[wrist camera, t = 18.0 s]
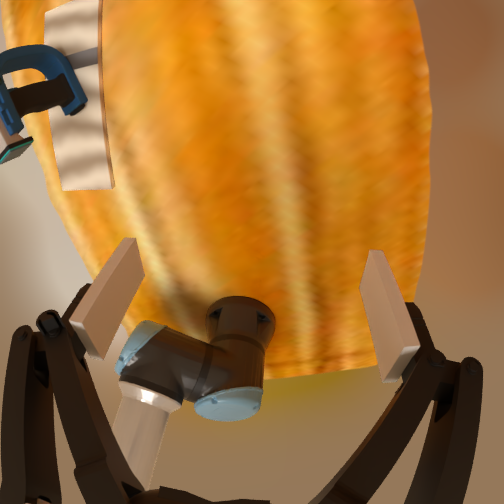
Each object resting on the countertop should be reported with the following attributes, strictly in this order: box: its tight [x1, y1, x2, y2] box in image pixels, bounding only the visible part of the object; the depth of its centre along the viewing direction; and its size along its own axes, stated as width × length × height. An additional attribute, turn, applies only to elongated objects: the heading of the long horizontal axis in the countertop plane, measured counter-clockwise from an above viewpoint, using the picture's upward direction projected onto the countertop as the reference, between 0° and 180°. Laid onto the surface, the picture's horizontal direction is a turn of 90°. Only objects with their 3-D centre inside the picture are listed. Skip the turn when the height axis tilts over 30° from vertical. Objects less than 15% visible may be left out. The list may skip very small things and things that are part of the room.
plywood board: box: [44, 0, 115, 191], centre depth 38 cm, size 36×12×1 cm, turn 178°
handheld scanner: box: [0, 44, 88, 164], centre depth 28 cm, size 5×16×20 cm, turn 23°
